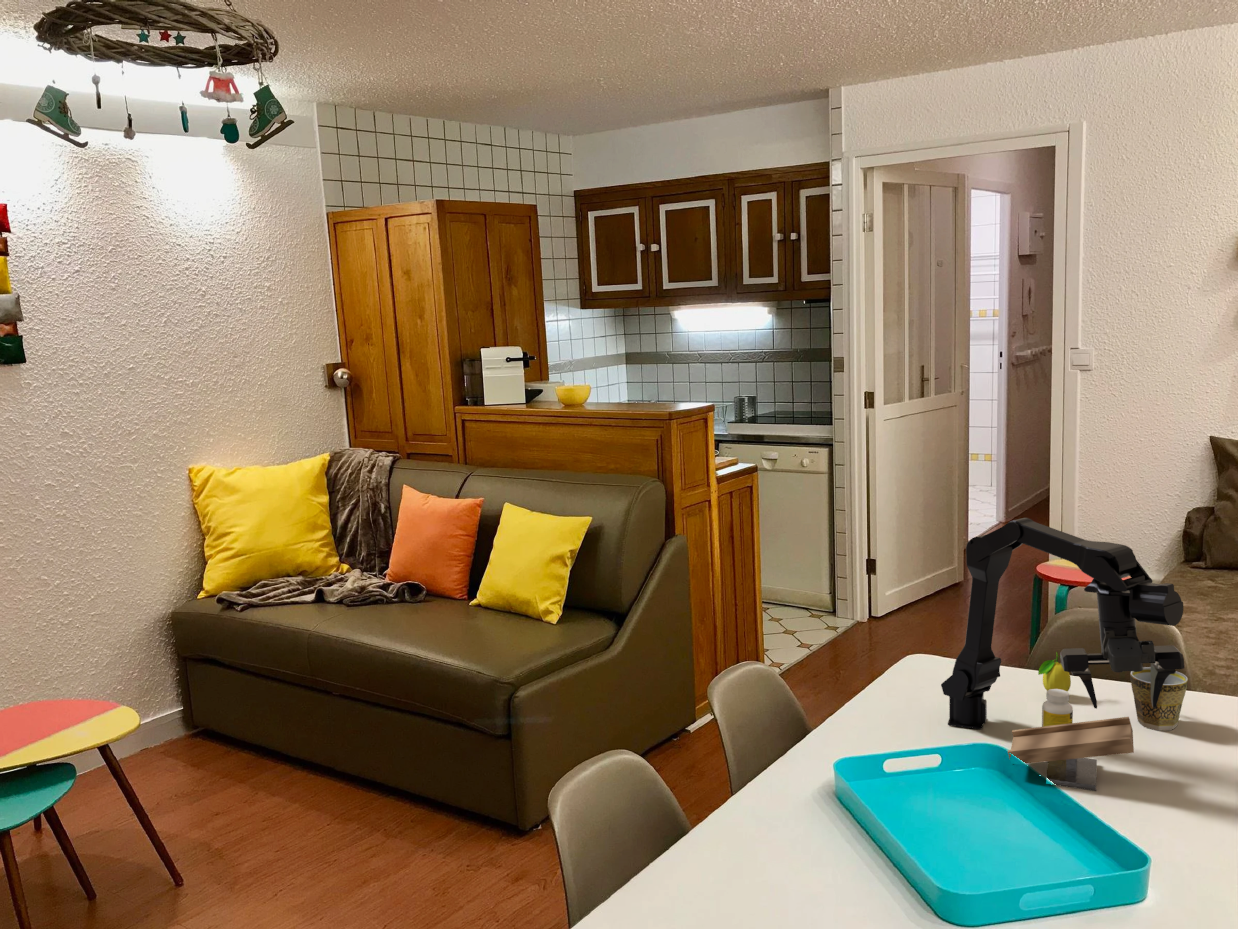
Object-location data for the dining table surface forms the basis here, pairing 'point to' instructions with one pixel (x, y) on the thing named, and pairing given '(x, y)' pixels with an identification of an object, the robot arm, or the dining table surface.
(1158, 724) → the ceramic cup
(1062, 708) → the supplement bottle
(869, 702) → the dining table surface
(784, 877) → the dining table surface
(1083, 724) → the balance board
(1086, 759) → the board stand
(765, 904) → the dining table surface
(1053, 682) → the lemon
